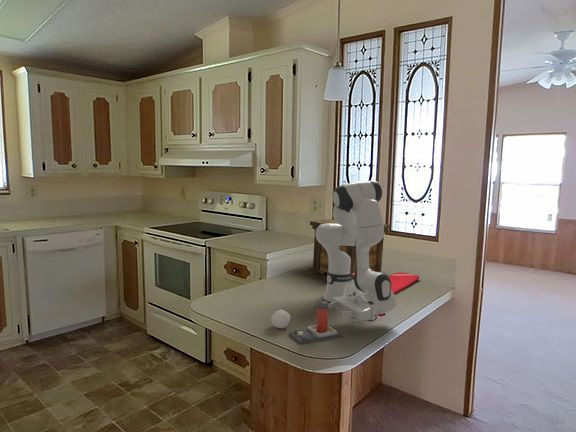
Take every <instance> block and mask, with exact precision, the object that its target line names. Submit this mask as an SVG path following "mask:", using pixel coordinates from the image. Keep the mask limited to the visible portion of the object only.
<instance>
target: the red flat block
mask: <svg viewBox="0 0 576 432" xmlns="http://www.w3.org/2000/svg"><path fill="white" fill-rule="evenodd" d="M388 276H389V277H390V279H391V284H392V286H391V289H392V292H393V294H394V295H396V294H398V293H399V292H401V291H402V290H404V289H406V288H408V287H410V286H411V285H412V284H414V283H415V282H416V281H418V280H419V279H420V276H419V275H418V274H412V273H408V272H402V271H401V272H395V273H393V274H390V275H388Z"/></svg>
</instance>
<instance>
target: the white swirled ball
mask: <svg viewBox="0 0 576 432" xmlns="http://www.w3.org/2000/svg"><path fill="white" fill-rule="evenodd" d="M270 321H271V323H272V325H273V326H274V327H275V328H277V329H285V328H286V327H288V325H289V324H290V321H291V315H290V313H288V311H286V310H283V309H279V310H276V311H274V313H272V314H271V317H270Z"/></svg>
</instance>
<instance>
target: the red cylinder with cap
mask: <svg viewBox="0 0 576 432" xmlns="http://www.w3.org/2000/svg"><path fill="white" fill-rule="evenodd" d="M329 303H330V302H329V301H327V300H325V299H324V300H318V301H317V307H316V308H317V309H316V311H317V312H316V316H317V317H316V325H317V332H319V333H325V332H327V329H328V325H329V324H328V323H329V309H330V308H329Z"/></svg>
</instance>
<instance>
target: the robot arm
mask: <svg viewBox="0 0 576 432" xmlns="http://www.w3.org/2000/svg"><path fill="white" fill-rule="evenodd" d="M382 196H383V188H382V185H381V184H380V183H379V182H378V181H377V180H372V179H369V180H363V181H355V182H353V183H342V184H341V185H339V186H337V187H336V188H334V189H333V192H332V202H333V211H332V217H333V219H335V221H336V222H337V223H338V224H336V223H327V224H321V225H319V226H318V228H317V229H316V239H317V241H318V242H319V243H320V244H321V245H323V247H324V248H325V249H326V251H327V254H328V262H329V266H328V271H327V274H326V282H327V283H326V288H325V292H324V296H323V299H324V301H328V302H329V308H328V309H330V310H331V309H334V308H337V309H338V310H340V316H341V317H349V318H353V319H354V320H357V321H360V322H366V321H375V319H376V315H382V314H387V313H390V312H391V311H393V310H394V309H395V308H396V306H397V298H396V294H393V292H392V289H391V286H392V284H391V279H390V277H389V276H390V275H388V274H386V273H383V272H375V271H372V270H371V269H370V267H369V249H370V247H372V246H373V245H376V244H377V243H379V242H380V241H381V240H382V238H383V236H385V233H384V226H383V224H384V221H383V216H382V211H381V207H380V205H379V202H380V201H381V199H382ZM339 246H355V274H354V273H353V274H352V273H351V272H350V265H351V259H350V256H349V255H348V254H346V253H344V252H343V251H341V250H340V249H339ZM352 277H354V280H353V278H352ZM363 292H365V293H366V294H364V293H363Z"/></svg>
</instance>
